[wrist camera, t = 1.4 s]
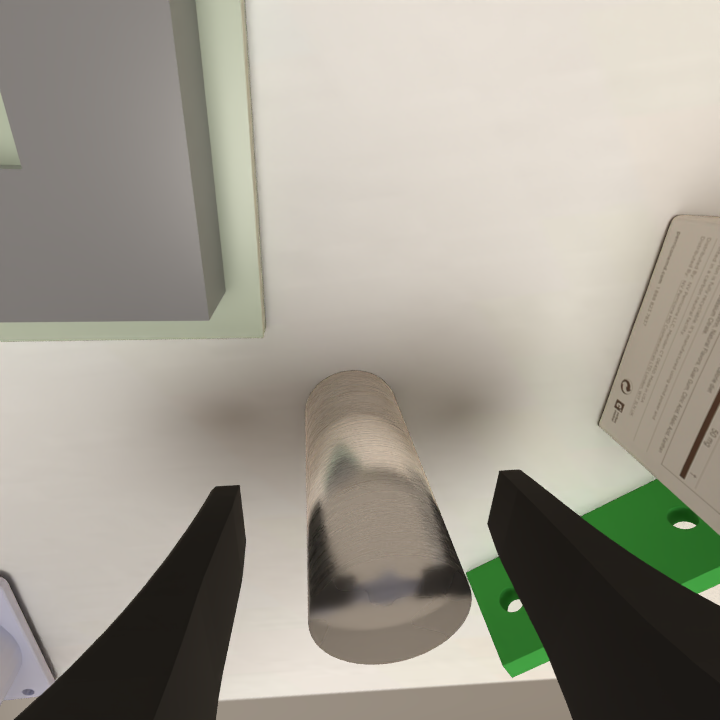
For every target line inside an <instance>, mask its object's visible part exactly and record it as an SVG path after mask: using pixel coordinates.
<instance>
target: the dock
mask: <svg viewBox="0 0 720 720" xmlns="http://www.w3.org/2000/svg"><path fill="white" fill-rule="evenodd" d="M265 328H266V324H265V308H264V293H263V277H262V262H261V246H260V231H259V215H258V200H257V185H256V169H255V154H254V138H253V123H252V107H251V92H250V76H249V61H248V46H247V30H246V15H245V0H0V342H20V341H89V340H157V339H226V338H263V337H264V332H265Z"/></svg>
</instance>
